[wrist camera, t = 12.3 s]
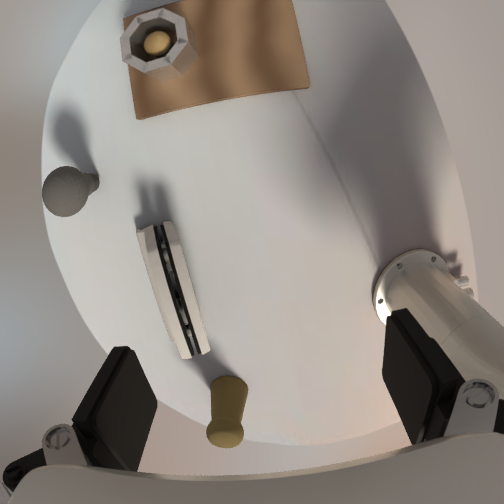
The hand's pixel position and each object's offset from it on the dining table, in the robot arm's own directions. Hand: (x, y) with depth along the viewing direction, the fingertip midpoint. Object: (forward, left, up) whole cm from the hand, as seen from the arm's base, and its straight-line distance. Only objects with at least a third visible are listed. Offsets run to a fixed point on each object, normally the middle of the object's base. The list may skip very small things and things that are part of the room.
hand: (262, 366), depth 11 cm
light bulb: (+20, -7, -28) cm, 36 cm away
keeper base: (+2, -20, -28) cm, 35 cm away
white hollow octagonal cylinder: (+7, -20, -27) cm, 34 cm away
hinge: (+12, +8, -29) cm, 32 cm away
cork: (+9, +28, -28) cm, 41 cm away
